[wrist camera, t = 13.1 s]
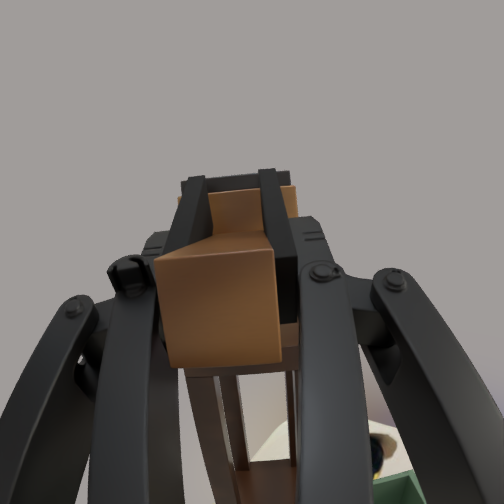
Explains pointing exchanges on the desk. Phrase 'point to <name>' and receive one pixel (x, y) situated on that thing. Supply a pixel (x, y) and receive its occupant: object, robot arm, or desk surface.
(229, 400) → the brown wooden stand
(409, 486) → the bin
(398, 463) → the desk surface
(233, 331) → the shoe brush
